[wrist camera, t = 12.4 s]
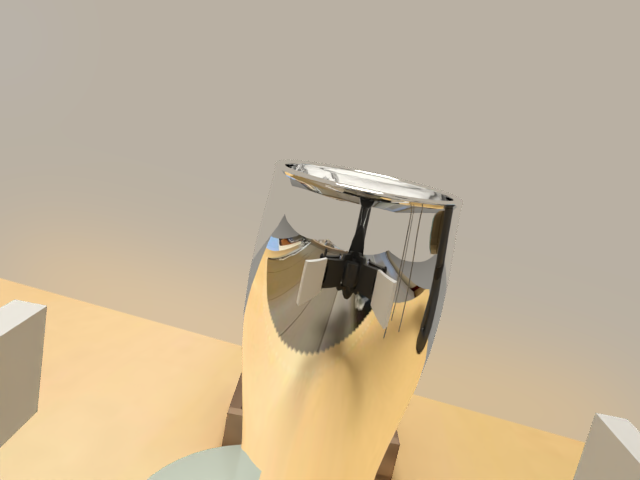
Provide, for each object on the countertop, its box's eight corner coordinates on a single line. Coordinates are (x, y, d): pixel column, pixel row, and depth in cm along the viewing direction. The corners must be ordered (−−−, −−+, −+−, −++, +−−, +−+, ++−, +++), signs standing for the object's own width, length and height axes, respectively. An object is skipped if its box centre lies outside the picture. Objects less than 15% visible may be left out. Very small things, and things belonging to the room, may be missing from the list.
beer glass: (365, 498, 26) (442, 185, 23) (385, 634, 19) (499, 216, 16) (217, 475, 26) (275, 152, 22) (185, 606, 19) (261, 170, 16)
